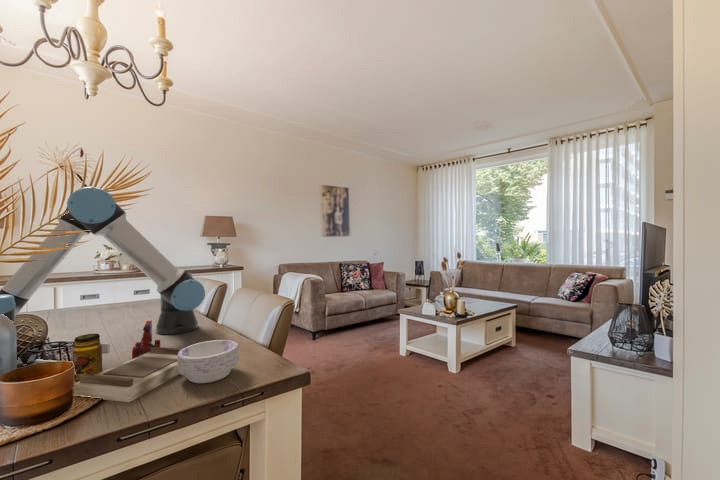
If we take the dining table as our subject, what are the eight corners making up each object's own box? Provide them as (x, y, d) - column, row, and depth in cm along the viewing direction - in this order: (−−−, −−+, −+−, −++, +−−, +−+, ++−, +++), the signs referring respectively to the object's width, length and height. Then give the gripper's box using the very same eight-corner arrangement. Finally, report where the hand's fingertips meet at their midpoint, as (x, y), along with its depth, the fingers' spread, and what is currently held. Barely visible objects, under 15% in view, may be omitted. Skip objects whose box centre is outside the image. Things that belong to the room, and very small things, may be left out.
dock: (152, 360, 104) (152, 345, 104) (198, 363, 101) (198, 348, 101) (72, 396, 81) (72, 377, 80) (129, 402, 77) (128, 382, 77)
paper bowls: (169, 377, 91) (169, 348, 91) (224, 361, 102) (224, 335, 102) (190, 395, 81) (189, 362, 80) (249, 375, 92) (248, 346, 91)
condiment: (69, 388, 85) (68, 341, 85) (73, 377, 92) (72, 333, 92) (105, 381, 89) (105, 336, 89) (106, 371, 96) (105, 329, 96)
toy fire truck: (130, 364, 101) (130, 330, 101) (137, 352, 112) (136, 320, 112) (157, 360, 104) (157, 327, 104) (161, 348, 115) (160, 318, 115)
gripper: (70, 350, 107) (126, 354, 102) (-37, 384, 82) (30, 392, 78) (69, 327, 107) (125, 330, 102) (-38, 354, 82) (30, 359, 78)
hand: (84, 356), depth 90 cm, fingers open, 13 cm apart
